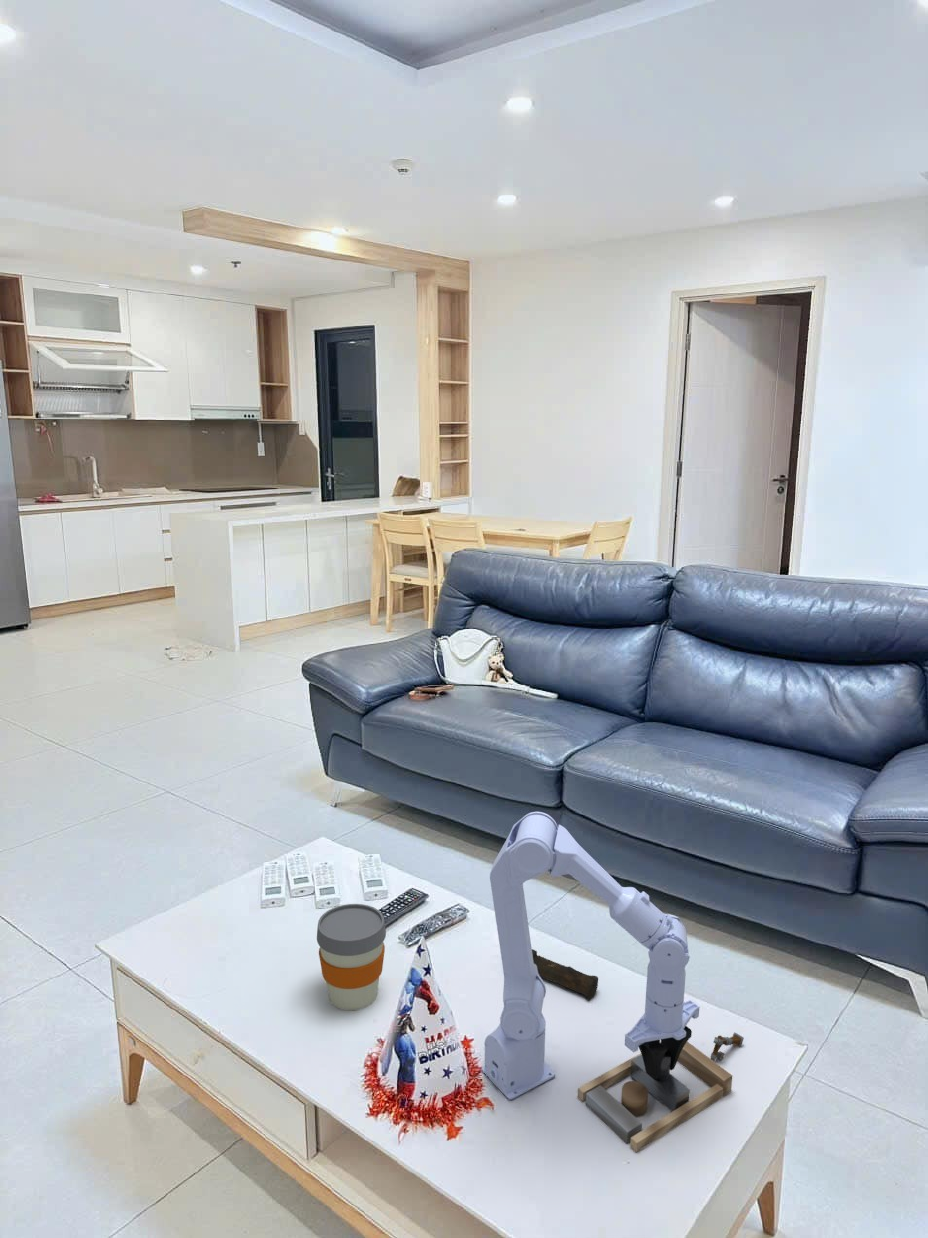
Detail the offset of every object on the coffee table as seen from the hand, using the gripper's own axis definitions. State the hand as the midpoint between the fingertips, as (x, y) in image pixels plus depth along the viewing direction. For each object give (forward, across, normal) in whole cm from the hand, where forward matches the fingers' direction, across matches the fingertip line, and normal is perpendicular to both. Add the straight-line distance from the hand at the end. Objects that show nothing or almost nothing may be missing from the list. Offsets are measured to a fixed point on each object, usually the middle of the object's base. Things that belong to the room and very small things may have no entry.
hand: (659, 1070), depth 136 cm
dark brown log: (+4, +3, +32) cm, 32 cm away
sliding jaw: (+4, 0, 0) cm, 4 cm away
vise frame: (+4, -1, 0) cm, 4 cm away
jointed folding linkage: (+4, +16, 0) cm, 16 cm away
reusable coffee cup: (+4, -29, +48) cm, 57 cm away
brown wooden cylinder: (+4, -5, 0) cm, 7 cm away
